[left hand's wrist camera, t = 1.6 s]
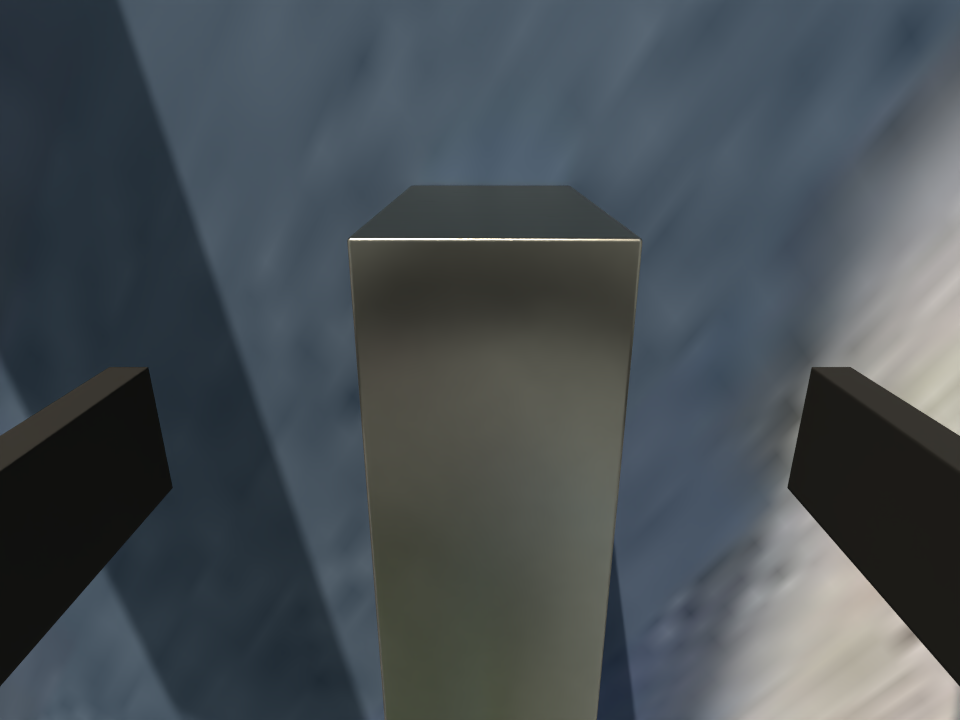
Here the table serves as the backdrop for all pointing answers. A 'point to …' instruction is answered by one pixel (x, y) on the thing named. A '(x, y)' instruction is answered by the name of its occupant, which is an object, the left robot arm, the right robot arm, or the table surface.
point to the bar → (492, 443)
